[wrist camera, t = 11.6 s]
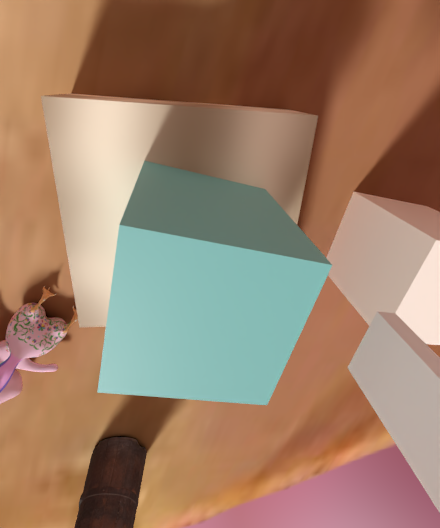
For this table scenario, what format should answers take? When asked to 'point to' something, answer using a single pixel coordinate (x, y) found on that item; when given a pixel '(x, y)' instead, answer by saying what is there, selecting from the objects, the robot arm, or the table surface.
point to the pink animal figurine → (29, 344)
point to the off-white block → (390, 261)
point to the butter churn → (112, 484)
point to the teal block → (206, 290)
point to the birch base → (161, 152)
